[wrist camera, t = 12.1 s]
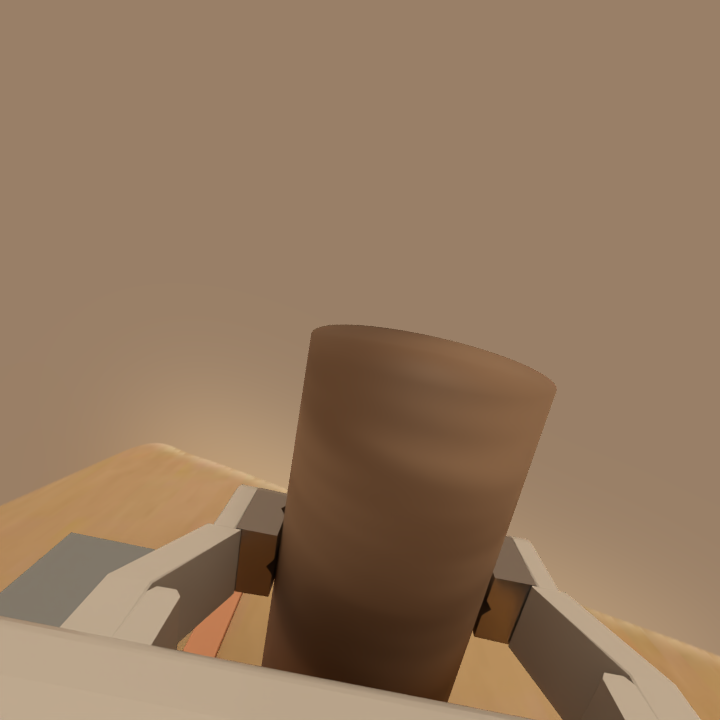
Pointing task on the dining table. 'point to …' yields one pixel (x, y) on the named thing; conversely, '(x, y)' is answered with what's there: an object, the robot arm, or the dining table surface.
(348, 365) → the brown tall cylinder
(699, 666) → the dining table surface
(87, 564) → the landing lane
